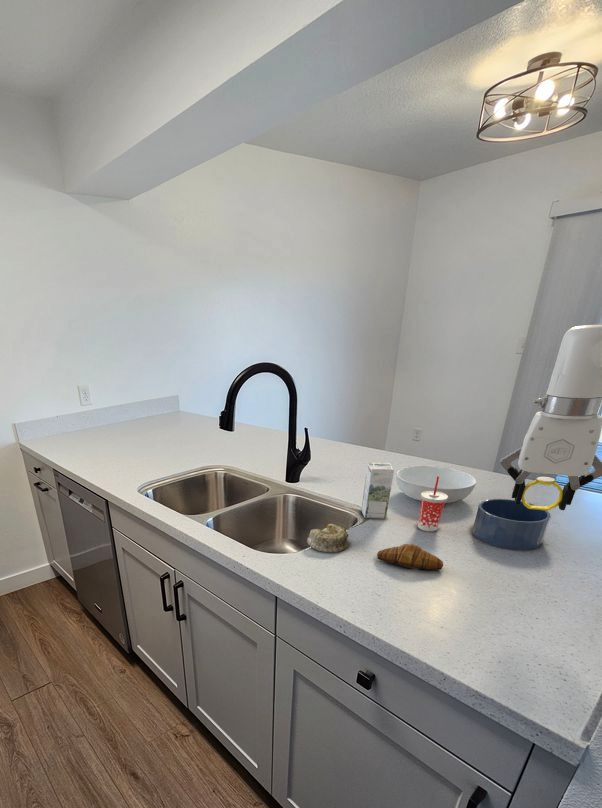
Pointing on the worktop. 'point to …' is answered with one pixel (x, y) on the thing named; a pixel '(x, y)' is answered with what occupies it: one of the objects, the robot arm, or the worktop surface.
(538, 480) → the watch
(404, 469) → the serving bowl
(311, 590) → the worktop surface
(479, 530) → the blue pet bowl
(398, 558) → the croissant
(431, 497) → the beverage cup
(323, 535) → the beige coiled mound
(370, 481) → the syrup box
